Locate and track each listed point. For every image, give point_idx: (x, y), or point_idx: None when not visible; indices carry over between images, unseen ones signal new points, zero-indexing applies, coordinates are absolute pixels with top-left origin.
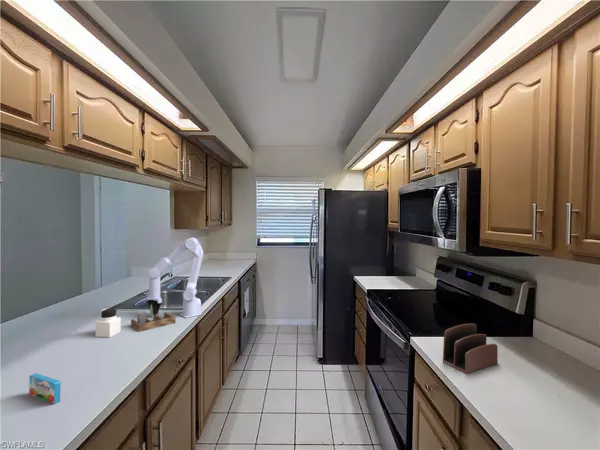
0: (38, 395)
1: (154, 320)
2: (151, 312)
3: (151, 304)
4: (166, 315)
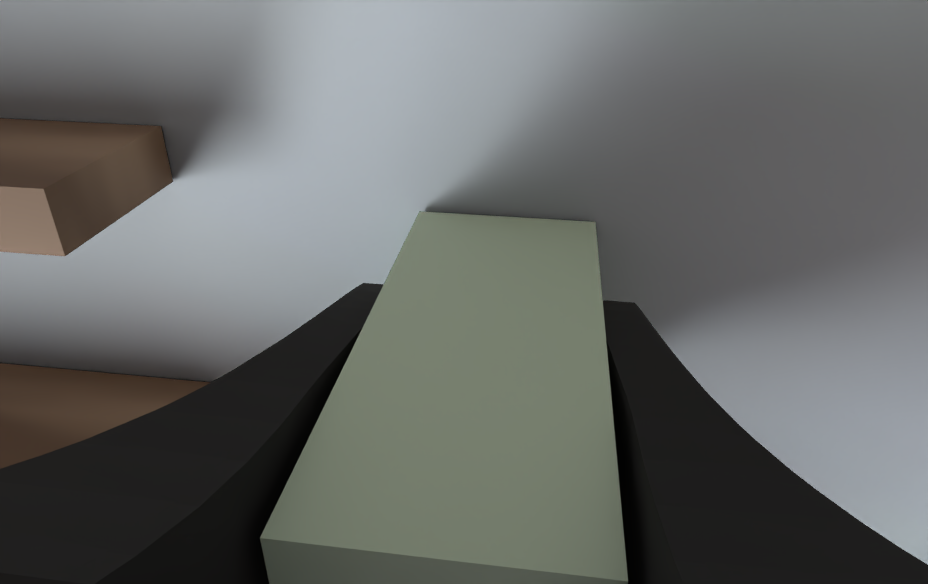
0: None
1: (80, 127)
2: (488, 291)
3: (116, 515)
4: (10, 438)
